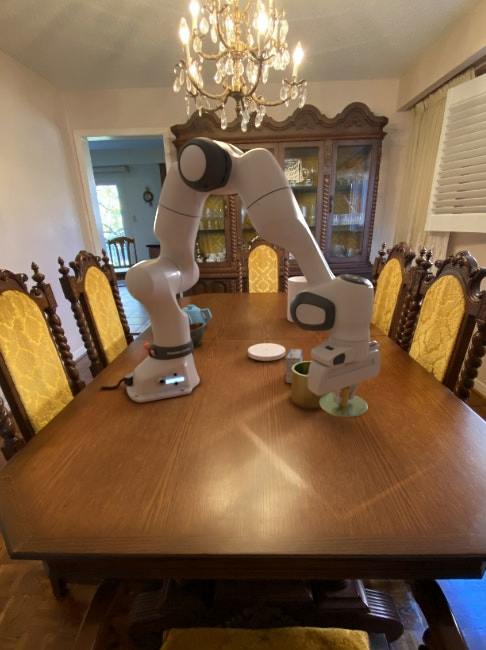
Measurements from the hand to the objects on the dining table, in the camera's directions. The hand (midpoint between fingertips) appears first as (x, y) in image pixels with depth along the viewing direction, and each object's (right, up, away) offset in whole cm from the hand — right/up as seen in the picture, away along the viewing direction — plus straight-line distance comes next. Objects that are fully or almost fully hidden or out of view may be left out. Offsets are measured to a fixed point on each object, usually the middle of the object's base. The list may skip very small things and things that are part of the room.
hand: (343, 400), depth 84 cm
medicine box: (-9, +3, +28) cm, 29 cm away
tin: (-6, -2, +14) cm, 15 cm away
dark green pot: (-51, +13, +57) cm, 78 cm away
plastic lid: (-17, +10, +46) cm, 50 cm away
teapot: (-51, +24, +83) cm, 100 cm away
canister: (+4, +28, +91) cm, 95 cm away
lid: (0, -1, 0) cm, 1 cm away
